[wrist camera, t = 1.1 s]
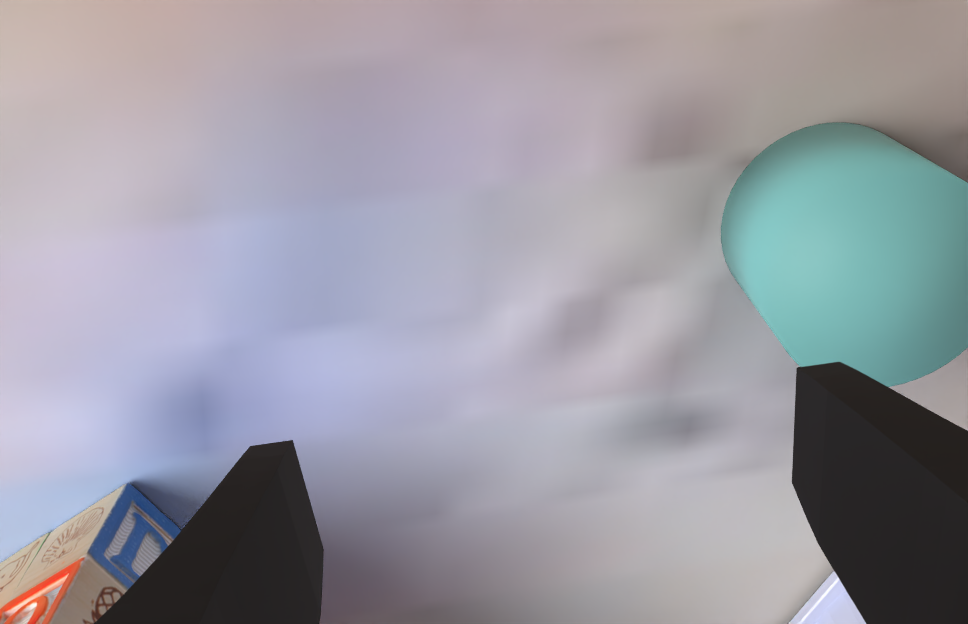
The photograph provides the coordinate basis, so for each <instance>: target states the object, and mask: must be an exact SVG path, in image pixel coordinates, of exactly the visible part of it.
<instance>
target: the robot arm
mask: <svg viewBox="0 0 968 624" xmlns="http://www.w3.org/2000/svg"><path fill="white" fill-rule="evenodd" d="M792 484H793V486H794V489H795V491H796V493H797V496H798V498H799V501H800V503H801V505H802V508H803V510H804V513H805V515H806V517H807V520H808V522H809V524H810V526H811V529H812V531H813V533H814V535H815V537H816V540H817V542H818V544H819V546H820V547H821V549H822V551H823V553H824V554H825V556H826V558H827V559H828V561H829V563H830V564H831V566H832V568H833V569H834V571H833V572H832V574H831V575H830V576H829V577H828V578H827V579H826V580H825V582H824V583H823V584H822V585H821V586H820V587H819V589H818V590H817V591H816V592H815V593H814V594H813V596H812V597H811V598H810V599H809V600H808V601H807V602H806V604H805V605H804V606H803V607H802V608H801V609H800V611H799V612H798V613H797V614H796V615H795V616H794V618H793V619H792V620H791V621H790V622H789V623H788V624H968V431H967V430H965V429H963V428H961V427H959V426H957V425H955V424H954V423H952V422H950V421H948V420H946V419H944V418H942V417H941V416H939V415H937V414H935V413H933V412H931V411H930V410H928V409H926V408H924V407H922V406H921V405H919V404H917V403H915V402H913V401H912V400H910V399H908V398H906V397H905V396H903V395H901V394H899V393H897V392H896V391H894V390H892V389H890V388H889V387H887V386H885V385H883V384H881V383H880V382H878V381H876V380H874V379H873V378H871V377H869V376H867V375H865V374H863V373H862V372H860V371H858V370H856V369H854V368H852V367H850V366H848V365H846V364H844V363H842V362H833V363H826V364H819V365H812V366H805V367H798V368H797V374H796V398H795V422H794V446H793V470H792ZM323 550H324V549H323V546H322V542H321V539H320V535H319V532H318V528H317V525H316V521H315V518H314V514H313V511H312V507H311V503H310V500H309V496H308V493H307V489H306V486H305V482H304V479H303V475H302V472H301V468H300V465H299V461H298V457H297V454H296V450H295V447H294V443H293V440H290V441H283V442H276V443H269V444H262V445H255V446H250V447H249V448H248V450H247V451H246V452H245V453H244V454H243V455H242V457H241V458H240V459H239V460H238V462H237V463H236V464H235V465H234V467H233V468H232V469H231V470H230V472H229V473H228V474H227V475H226V477H225V478H224V479H223V480H222V482H221V483H220V484H219V485H218V487H217V488H216V489H215V490H214V492H213V493H212V494H211V495H210V497H209V498H208V499H207V500H206V501H205V503H204V504H203V505H202V506H201V508H200V509H199V510H198V511H197V513H196V514H195V515H194V516H193V517H192V519H191V520H190V521H189V522H188V523H187V525H186V526H185V527H184V528H183V529H182V531H181V532H180V533H179V534H178V535H177V536H176V538H175V539H174V540H173V541H172V542H171V544H170V545H169V546H168V547H167V548H166V549H165V550H164V551H163V552H162V553H161V554H160V555H159V557H158V558H157V559H156V560H155V561H154V562H153V563H152V564H151V565H150V566H149V567H148V569H147V570H146V571H145V572H144V573H143V574H142V575H141V576H140V577H139V578H138V579H137V581H136V582H135V583H134V584H133V585H132V586H131V587H130V588H129V589H128V590H127V591H126V592H125V593H124V594H123V595H122V596H121V597H120V598H119V599H118V600H117V602H116V603H115V604H114V605H112V606H111V607H110V608H109V609H108V610H107V611H106V612H105V613H104V614H103V615H102V616H101V617H100V618H99V619H98V620H97V621H96V622H95V623H94V624H319V621H320V615H321V598H322V577H323Z"/></svg>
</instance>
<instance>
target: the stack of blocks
mask: <svg viewBox="0 0 968 624" xmlns="http://www.w3.org/2000/svg"><path fill="white" fill-rule="evenodd" d="M180 532H181V530H180V529H179V528H178V527H177V526H176V525H175V524H174V523H173V522H172V521H171V520H170V519H169V518H167V517H166V516H165V515H164V514H163V513H162V512H160V511H159V510H158V509H157V508H156V507H155V506H154V505H153V504H152V503H151V502H150V501H149V500H147V499H146V498H145V497H144V496H143V495H142V494H141V493H140V492H139V491H138V490H137V489H136V488H134V487H133V486H132V485H130V484H129V483H127V484H124V485H123V486H121V487H120V488H118V489H117V490H115V491H114V492H112V493H111V494H109V495H107V496H106V497H104V498H103V499H101V500H99V501H98V502H96V503H95V504H93V505H92V506H90V507H89V508H87V509H86V510H84V511H83V512H81V513H80V514H78V515H76V516H75V517H73V518H72V519H70V520H68V521H67V522H65V523H64V524H62V525H60V526H59V527H57V528H56V529H55V530H54V531H52V532H50V533H47V534H45V535H43V536H42V537H40V538H39V539H37V540H35V541H34V542H32V543H31V544H29V545H27V546H26V547H24V548H23V549H21V550H20V551H18V552H17V553H15V554H14V555H12V556H11V557H9V558H8V559H6V560H5V561H3V562H2V563H0V624H94V623H95V622H96V621H97V620H98V619H99V618H100V617H101V616H102V615H103V614H104V613H105V612H106V611H107V610H108V609H109V608H110V607H111V606H112V605H114V604H115V603H116V602H117V600H118V599H119V598H120V597H121V596H122V595H123V594H124V593H125V592H126V591H127V590H128V589H129V588H130V587H131V586H132V585H133V584H134V583H135V582H136V581H137V579H138V578H139V577H140V576H141V575H142V574H143V573H144V572H145V571H146V570H147V569H148V567H149V566H150V565H151V564H152V563H153V562H154V561H155V560H156V559H157V558H158V557H159V555H160V554H161V553H162V552H163V551H164V550H165V549H166V548H167V547H168V546H169V545H170V544H171V542H172V541H173V540H174V539H175V538H176V536H177V535H178V534H179V533H180Z"/></svg>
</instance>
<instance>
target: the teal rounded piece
mask: <svg viewBox="0 0 968 624" xmlns="http://www.w3.org/2000/svg"><path fill="white" fill-rule="evenodd" d="M721 243H722V250H723V254H724V257H725V261H726V263H727V265H728V268H729V270H730V272H731V274H732V275H733V276H734V278H735V279H736V281H737V282H738V284H739V285H740V287H741V288H742V289H743V291H744V292H745V294H746V295H747V296H748V298H749V299H750V301H751V302H752V303H753V305H754V306H755V308H756V309H757V310H758V312H759V313H760V315H761V316H762V317H763V319H764V320H765V322H766V323H767V324H768V326H769V327H770V329H771V330H772V331H773V333H774V334H775V336H776V337H777V338H778V340H779V341H780V343H781V344H782V345H783V347H784V348H785V350H786V351H787V352H788V354H789V355H790V356H791V357H792V359H793V360H794V361H795V362H796V363H797V364H798V365H799V366H801V367H805V366H812V365H819V364H826V363H833V362H842V363H844V364H846V365H848V366H850V367H852V368H854V369H856V370H858V371H860V372H862V373H863V374H865V375H867V376H869V377H871V378H873V379H874V380H876V381H878V382H880V383H881V384H883V385H885V386H887V387H890V386H895V385H899V384H904V383H907V382H910V381H913V380H916V379H918V378H921V377H923V376H925V375H927V374H929V373H932V372H934V371H935V370H937V369H939V368H941V367H942V366H944V365H946V364H947V363H949V362H950V361H951V360H953V359H954V358H956V357H957V356H958V355H960V354H961V353H962V352H963V351H964V350H965V349H966V348H968V183H967V182H965V181H964V180H962V179H960V178H959V177H957V176H955V175H953V174H952V173H950V172H948V171H946V170H945V169H943V168H941V167H940V166H938V165H936V164H934V163H933V162H931V161H929V160H928V159H926V158H924V157H922V156H921V155H919V154H917V153H916V152H914V151H912V150H910V149H909V148H907V147H905V146H903V145H902V144H900V143H898V142H897V141H895V140H893V139H891V138H890V137H888V136H886V135H885V134H883V133H881V132H879V131H876V130H874V129H872V128H869V127H866V126H862V125H859V124H852V123H825V124H818V125H814V126H810V127H806V128H803V129H800V130H798V131H795V132H792V133H790V134H788V135H787V136H785V137H783V138H781V139H779V140H777V141H776V142H774V143H773V144H771V145H770V146H769V147H767V148H766V149H765V150H764V151H762V152H761V153H760V154H759V155H758V156H757V157H756V158H755V159H754V160H753V161H752V162H751V163H750V164H749V165H748V166H747V167H746V169H745V170H744V171H743V173H742V174H741V175H740V177H739V178H738V180H737V181H736V183H735V185H734V187H733V188H732V190H731V193H730V195H729V197H728V200H727V202H726V205H725V209H724V213H723V217H722V225H721Z"/></svg>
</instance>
